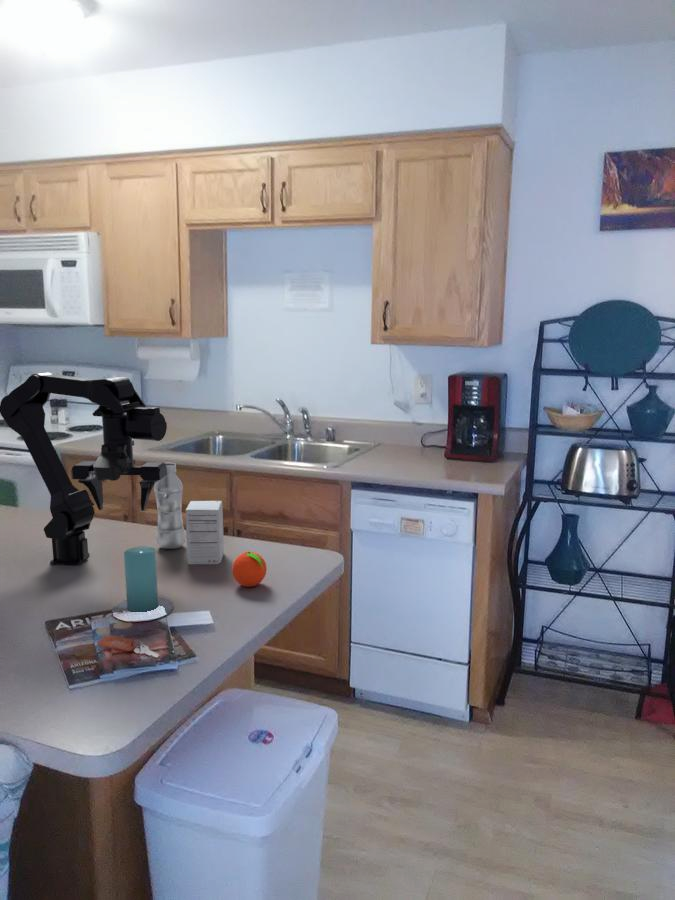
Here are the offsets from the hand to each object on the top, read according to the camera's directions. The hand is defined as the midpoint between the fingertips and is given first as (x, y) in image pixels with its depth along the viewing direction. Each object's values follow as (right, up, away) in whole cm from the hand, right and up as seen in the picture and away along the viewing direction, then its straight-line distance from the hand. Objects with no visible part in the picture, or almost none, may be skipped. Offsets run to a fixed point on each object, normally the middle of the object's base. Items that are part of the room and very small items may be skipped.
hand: (121, 510), depth 152 cm
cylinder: (+10, -17, -19) cm, 27 cm away
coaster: (+10, -17, -19) cm, 27 cm away
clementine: (+28, -15, -7) cm, 33 cm away
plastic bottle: (+7, -10, +16) cm, 20 cm away
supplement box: (+16, -12, +9) cm, 22 cm away
